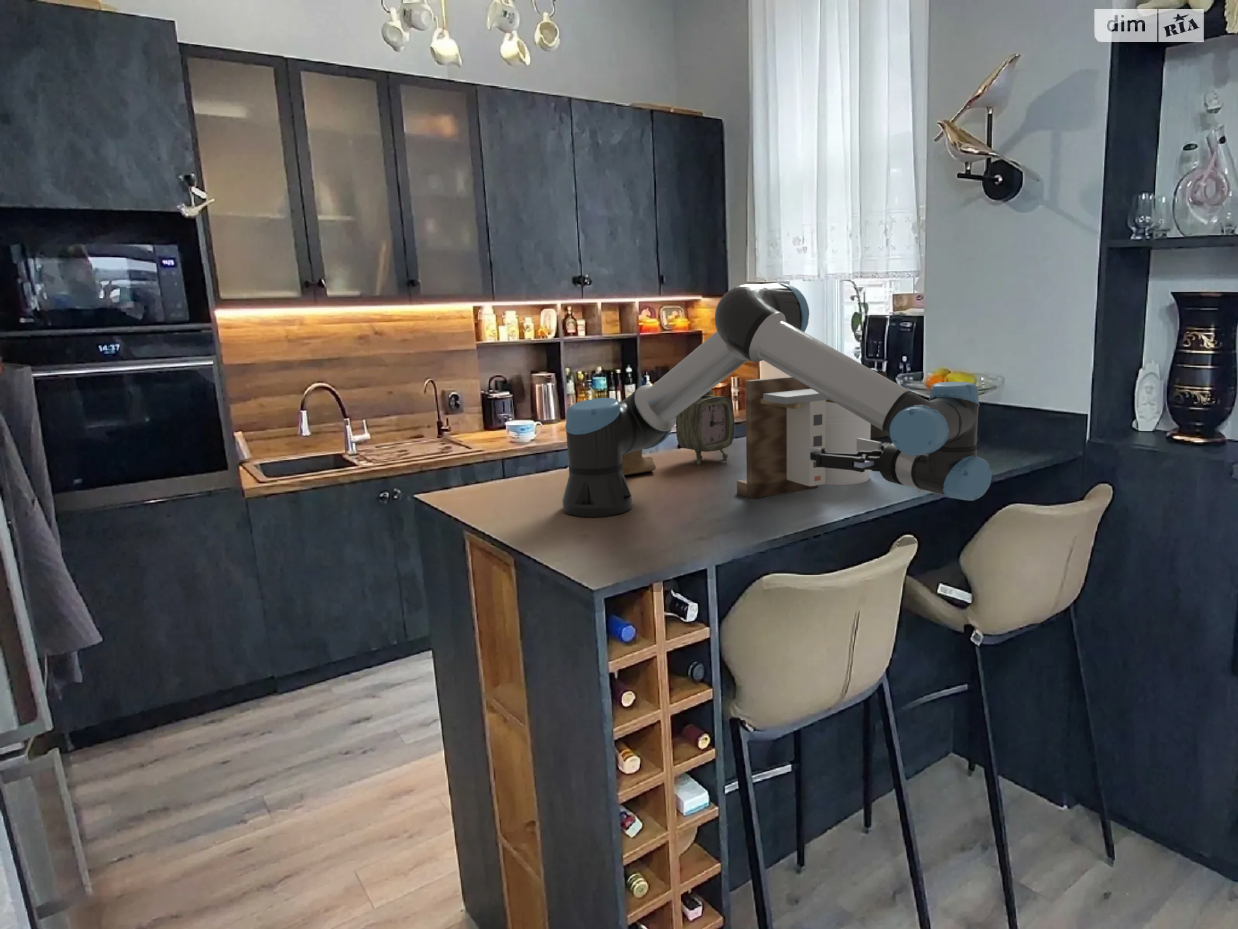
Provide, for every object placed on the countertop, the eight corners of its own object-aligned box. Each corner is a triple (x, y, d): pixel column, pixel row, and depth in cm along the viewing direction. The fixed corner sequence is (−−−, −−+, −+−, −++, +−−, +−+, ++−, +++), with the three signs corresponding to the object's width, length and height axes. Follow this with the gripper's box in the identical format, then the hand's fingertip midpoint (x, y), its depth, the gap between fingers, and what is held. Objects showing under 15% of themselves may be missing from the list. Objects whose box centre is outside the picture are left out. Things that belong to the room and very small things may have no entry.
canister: (787, 478, 195) (787, 396, 191) (827, 467, 205) (827, 389, 201) (843, 488, 183) (844, 401, 179) (882, 476, 193) (884, 393, 189)
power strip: (786, 490, 167) (786, 397, 163) (764, 483, 174) (763, 393, 170) (847, 480, 173) (848, 390, 169) (823, 473, 180) (823, 387, 176)
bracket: (784, 510, 166) (784, 385, 161) (737, 493, 183) (735, 379, 177) (853, 498, 174) (855, 378, 169) (801, 482, 190) (801, 372, 185)
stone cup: (611, 482, 199) (608, 422, 196) (595, 473, 210) (592, 417, 207) (666, 475, 205) (665, 416, 202) (647, 467, 216) (645, 411, 213)
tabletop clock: (697, 467, 212) (694, 372, 207) (673, 463, 219) (671, 371, 214) (734, 459, 221) (733, 367, 216) (711, 455, 228) (709, 366, 223)
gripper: (854, 495, 141) (781, 474, 160) (958, 476, 151) (878, 458, 170) (855, 453, 140) (781, 437, 159) (960, 437, 150) (879, 423, 169)
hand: (831, 448), depth 164 cm, fingers open, 13 cm apart
